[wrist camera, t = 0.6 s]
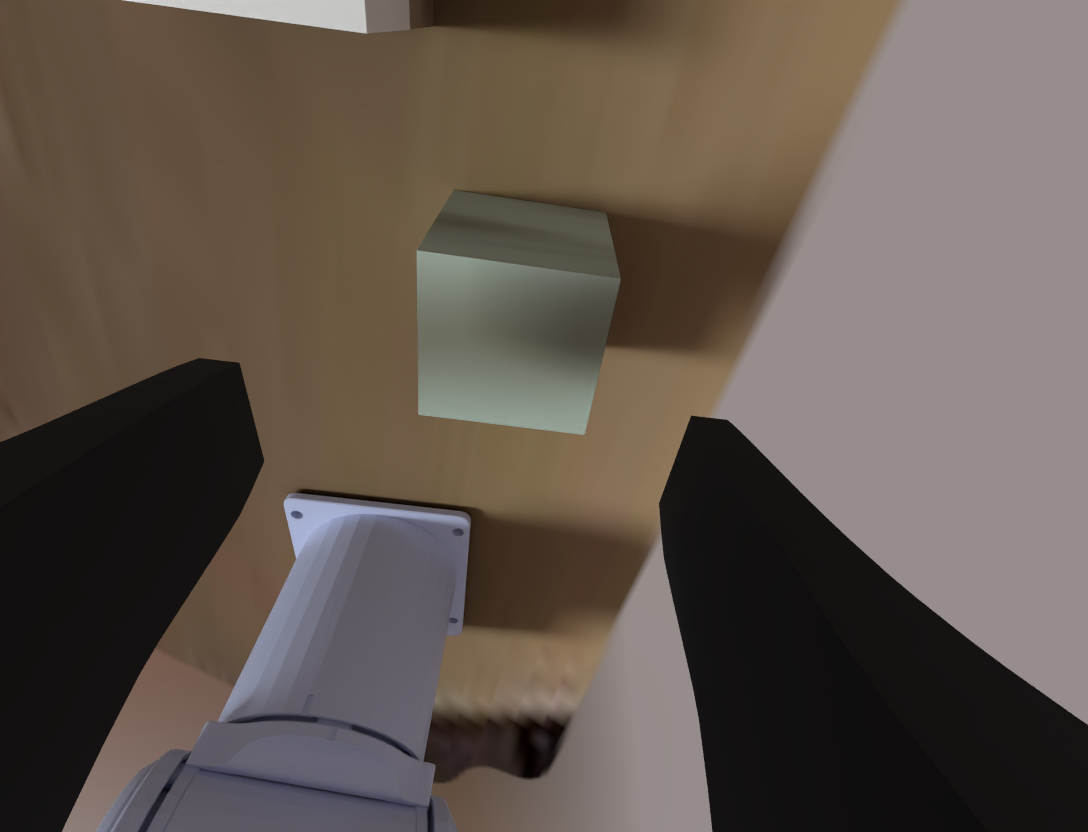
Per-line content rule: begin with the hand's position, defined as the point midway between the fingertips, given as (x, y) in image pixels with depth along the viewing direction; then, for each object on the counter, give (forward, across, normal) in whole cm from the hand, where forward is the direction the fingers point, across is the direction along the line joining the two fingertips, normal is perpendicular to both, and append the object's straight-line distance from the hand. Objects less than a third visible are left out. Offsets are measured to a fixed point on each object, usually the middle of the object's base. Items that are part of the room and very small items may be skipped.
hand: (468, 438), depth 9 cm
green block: (+10, 0, +1) cm, 10 cm away
